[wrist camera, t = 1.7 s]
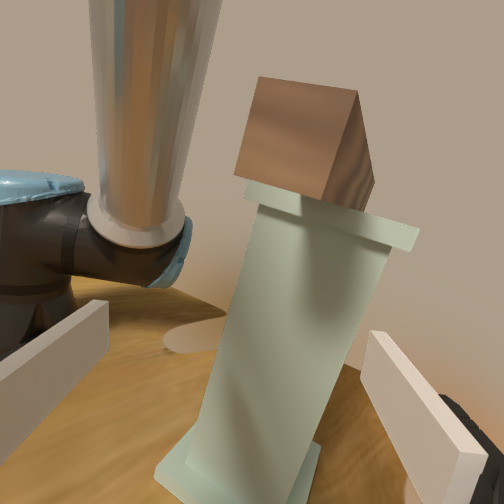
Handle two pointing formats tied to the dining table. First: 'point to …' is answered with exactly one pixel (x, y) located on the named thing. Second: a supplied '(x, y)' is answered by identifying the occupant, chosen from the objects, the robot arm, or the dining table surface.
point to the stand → (281, 350)
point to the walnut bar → (307, 142)
